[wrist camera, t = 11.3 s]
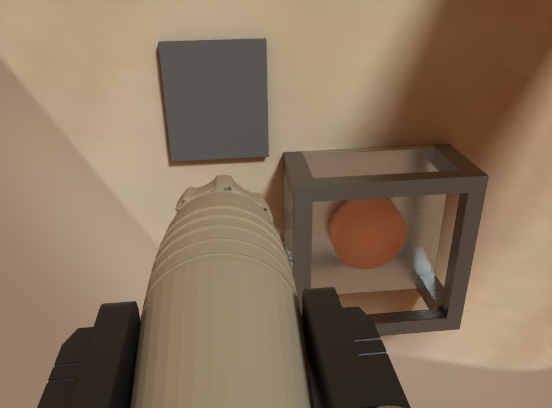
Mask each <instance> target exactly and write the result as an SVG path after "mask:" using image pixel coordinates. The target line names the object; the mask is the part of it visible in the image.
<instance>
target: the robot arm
mask: <svg viewBox="0 0 552 408" xmlns="http://www.w3.org/2000/svg"><path fill="white" fill-rule="evenodd" d="M302 320H303V327H304V334H305V341H306V349H307V357H308V364H309V372H310V380H311V387H312V395H313V403H314V408H411V407H410V405H409V403H408V401H407V398H406V396H405V394H404V391H403V389H402V387H401V385H400V382H399V380H398V377H397V375H396V373H395V371H394V368H393V366H392V363H391V361H390V359H389V356H388V354H386V349H385V347H384V345H383V342H382V340H380V335H379V333H378V330H377V328H376V326H375V323H374V321H373V320H372V319H371V318H370V317H369V316H368V315H367V314H366V313H365V312H364V311H363V310H361V309H360V308H359V307H347V308H342V306H341V303H340V300H339V298H338V295H337V292H336V289H335V288H334V287H325V288H312V289H303V293H302ZM139 329H140V316H139V310H138V306H137V303H136V302H135V301H133V302H121V303H107V304H102V305H101V307H100V309H99V312H98V315H97V318H96V322H95V324H94V327H88V328H78V329H77V330H76V331H75V332H74V333H73V334H72V335H71V336H70V337H69V339H67V340H66V342H65V343H64V344H63V345H62V346H61V349H60V352H59V354H58V356H57V359H56V362H55V367H54V368H53V369H52V372H51V374H50V377H49V382H48V383H47V384H46V387H45V389H44V392H43V394H42V397H41V400H40V402H39V405H38V407H37V408H130V403H131V395H132V387H133V379H134V370H135V362H136V354H137V346H138V338H139Z"/></svg>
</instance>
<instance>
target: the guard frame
mask: <svg viewBox="0 0 552 408" xmlns="http://www.w3.org/2000/svg"><path fill="white" fill-rule="evenodd" d="M283 168H284V250H285V253H286V256H287V259H288V262H289V265H290V268H291V271H292V276H293V279H294V283H295V287H296V291H297V295H298V299H299V304H300V308H301V313H302V293H303V289H312V288H325V287H334V288H335V289H336V292H337V294H349V293H363V292H376V291H389V290H402V289H416V288H417V290H418V292H419V293H420V295H421V297H422V298H423V300H424V302H425V303H426V305H427V307H428V308H429V310H418V311H405V312H393V313H380V314H367V315H368V316H369V317H370V318H371V319H372V320H373V321H374V323H375V326H376V328H377V330H378V333H379V335H380V336H384V335H396V334H407V333H419V332H431V331H443V330H455V329H460V324H461V318H462V313H463V308H464V303H465V297H466V292H467V287H468V282H469V276H470V271H471V266H472V260H473V255H474V250H475V245H476V239H477V234H478V229H479V224H480V218H481V213H482V208H483V203H484V197H485V192H486V187H487V181H488V175H487V174H486V173H485V172H483V171H482V170H481V169H480V168H478V167H477V166H476V165H475V164H473V163H472V162H471V161H470V160H469V159H467V158H466V157H465V156H464V155H462V154H461V153H460V152H459V151H458V150H456V149H455V148H454V147H453V146H451V145H450V144H443V145H423V146H403V147H383V148H363V149H343V150H323V151H303V152H283ZM458 193H460V196H459V202H458V208H457V214H456V220H455V226H454V232H453V238H452V244H451V250H450V256H449V262H448V268H447V274H446V280H445V286H444V287H443V286H442V284H441V283H440V281H439V280H438V278H437V277H436V275H435V274H434V273H435V266H436V260H437V253H438V246H439V240H440V233H441V227H442V220H443V214H444V207H445V200H446V194H458ZM373 198H387V199H388V200H390V201H391V202H392V203H393V204H394V205H395V206H396V208H397V209H398V211H399V212H400V213H401V215H402V216H403V218H404V220H405V222H406V225H407V238H406V241H405V244H404V246H403V248H402V249H401V251H400V252H399V253H398V255H397V256H396V257H395V258H394V259H392V260H391V261H389V262H388V263H386V264H384V265H382V266H379V267H376V268H372V269H358V268H354V267H351V266H349V265H347V264H345V263H344V262H342V261H341V260H340V259H339V257H338V256H337V254H336V253H335V250H334V248H333V245H332V243H331V240H330V237H329V224H330V220H331V218H332V216H333V214H334V213H335V211H336V210H337V209H338V208H339V207H340V206H341V205H342V204H343V203H344V202H346V201H347V200H356V199H373Z"/></svg>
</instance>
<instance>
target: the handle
mask: <svg viewBox="0 0 552 408" xmlns="http://www.w3.org/2000/svg"><path fill="white" fill-rule="evenodd" d="M176 211H177V214H176V216H175V217H174V219H173V221H172V222H171V224H170V225H169V227H168V229H167V231H166V234H165V236H164V238H163V240H162V242H161V245H160V248H159V250H158V253H157V256H156V260H155V262H154V265H153V268H152V273H151V276H150V280H149V284H148V289H147V293H146V297H145V301H144V306H143V311H142V315H141V321H140V329H139V338H138V346H137V354H136V362H135V370H134V379H133V387H132V395H131V403H130V408H314V403H313V395H312V387H311V380H310V372H309V364H308V357H307V349H306V341H305V334H304V327H303V320H302V313H301V308H300V304H299V299H298V295H297V291H296V287H295V283H294V279H293V276H292V271H291V268H290V265H289V262H288V259H287V256H286V253H285V250H284V247H283V244H282V242H281V239H280V237H279V234H278V232H277V229H276V228H275V226H274V224H273V216H272V213H271V211H270V208H269V206H268V204H267V202H266V201H265V199H264V198H263V196H262V195H261V194H260V193H252V192H249V191H247V190H245V189H243V188H242V187H240V186H239V185H238V184H237V183H236V182H235V181H234V180H233V179H232V177H231V176H228V175H218V176H216V177H215V179H214V180H213V181H212V182H210V183H208V184H207V185H205V186H201V187H198V188H194V187H190V188H188V189H187V190H186V191H185V192H184V193H183V195H182V196H181V198H180V199H179V201H178V203H177V205H176Z"/></svg>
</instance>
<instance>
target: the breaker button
mask: <svg viewBox="0 0 552 408" xmlns="http://www.w3.org/2000/svg"><path fill="white" fill-rule="evenodd" d="M329 237H330V240H331V243H332V245H333V248H334V250H335V253H336V254H337V256H338V257H339V259H340V260H341V261H342V262H344V263H345V264H347V265H349V266H351V267H354V268H358V269H372V268H376V267H379V266H382V265H384V264H386V263H388V262H389V261H391V260H392V259H394V258H395V257H396V256H397V255H398V253H399V252H400V251H401V249H402V248H403V246H404V244H405V241H406V238H407V225H406V222H405V220H404V218H403V216H402V215H401V213H400V212H399V211H398V209H397V208H396V206H395V205H394V204H393V203H392V202H391V201H390V200H388V199H387V198H373V199H356V200H347V201H346V202H344V203H343V204H342V205H341V206H340V207H339V208H338V209H337V210H336V211H335V213H334V214H333V216H332V218H331V220H330V224H329Z"/></svg>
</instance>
